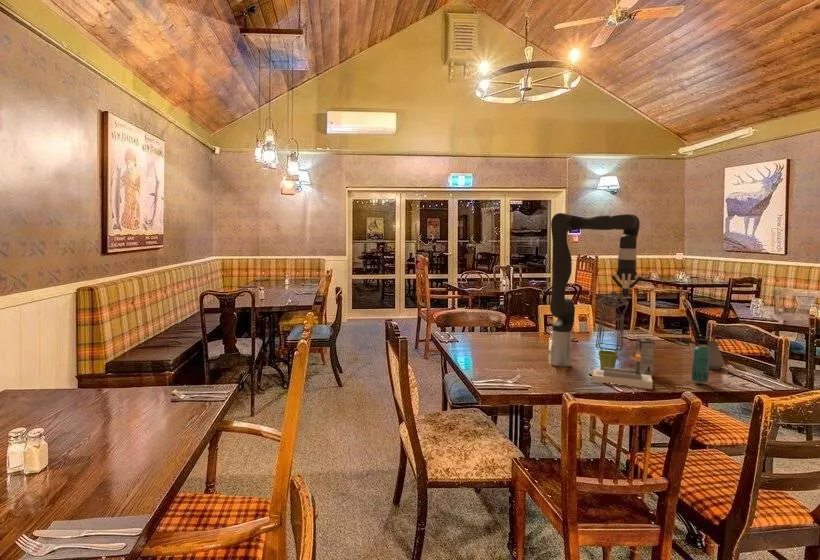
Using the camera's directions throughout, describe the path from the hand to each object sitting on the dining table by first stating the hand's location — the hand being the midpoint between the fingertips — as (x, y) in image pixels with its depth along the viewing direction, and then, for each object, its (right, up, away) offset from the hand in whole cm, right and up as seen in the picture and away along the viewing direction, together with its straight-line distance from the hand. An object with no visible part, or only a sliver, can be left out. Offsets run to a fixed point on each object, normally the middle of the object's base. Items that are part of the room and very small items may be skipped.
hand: (625, 296), depth 232 cm
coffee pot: (+47, -36, +22) cm, 63 cm away
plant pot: (-3, -36, +13) cm, 39 cm away
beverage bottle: (+29, -39, -8) cm, 49 cm away
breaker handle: (+1, -35, -10) cm, 36 cm away
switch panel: (-5, -38, -7) cm, 39 cm away
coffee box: (+12, -37, +9) cm, 40 cm away
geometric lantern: (+11, -34, +46) cm, 58 cm away
